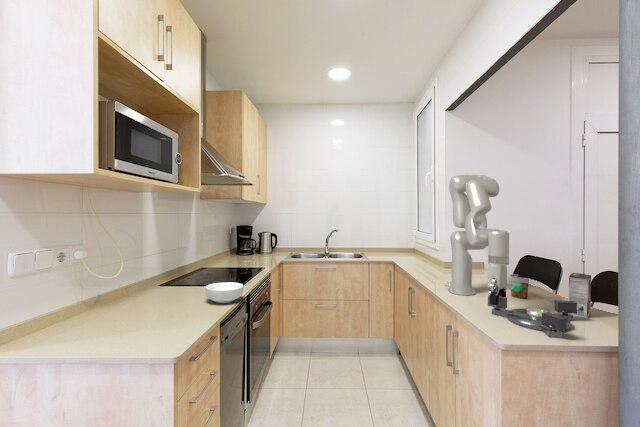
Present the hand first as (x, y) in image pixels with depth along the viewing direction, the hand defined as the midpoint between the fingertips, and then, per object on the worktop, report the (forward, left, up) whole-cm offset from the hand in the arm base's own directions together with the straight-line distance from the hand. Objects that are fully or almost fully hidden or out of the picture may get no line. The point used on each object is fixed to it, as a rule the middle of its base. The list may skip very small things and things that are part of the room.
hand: (498, 302), depth 136 cm
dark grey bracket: (0, 0, -2) cm, 2 cm away
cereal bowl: (-94, -69, -5) cm, 117 cm away
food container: (-2, +37, -5) cm, 38 cm away
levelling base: (+11, 0, -5) cm, 12 cm away
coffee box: (+24, +25, -5) cm, 35 cm away
